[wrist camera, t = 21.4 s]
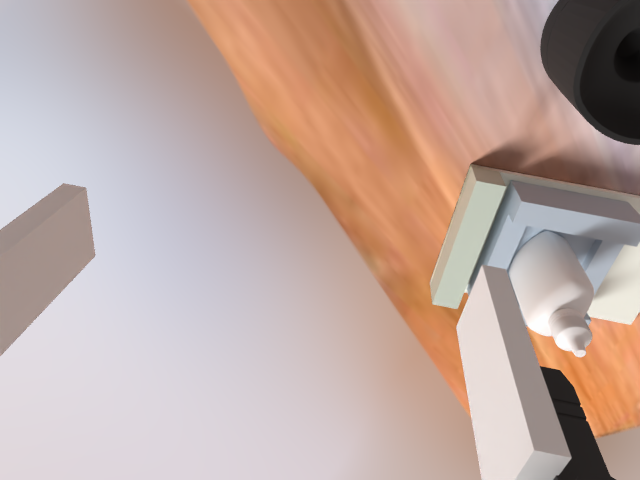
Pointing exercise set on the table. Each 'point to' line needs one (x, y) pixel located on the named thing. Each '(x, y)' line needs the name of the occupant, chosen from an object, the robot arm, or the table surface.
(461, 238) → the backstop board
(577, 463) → the robot arm
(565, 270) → the eye dropper bottle
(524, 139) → the table surface
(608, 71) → the pen holder
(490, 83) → the table surface
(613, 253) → the cradle block
